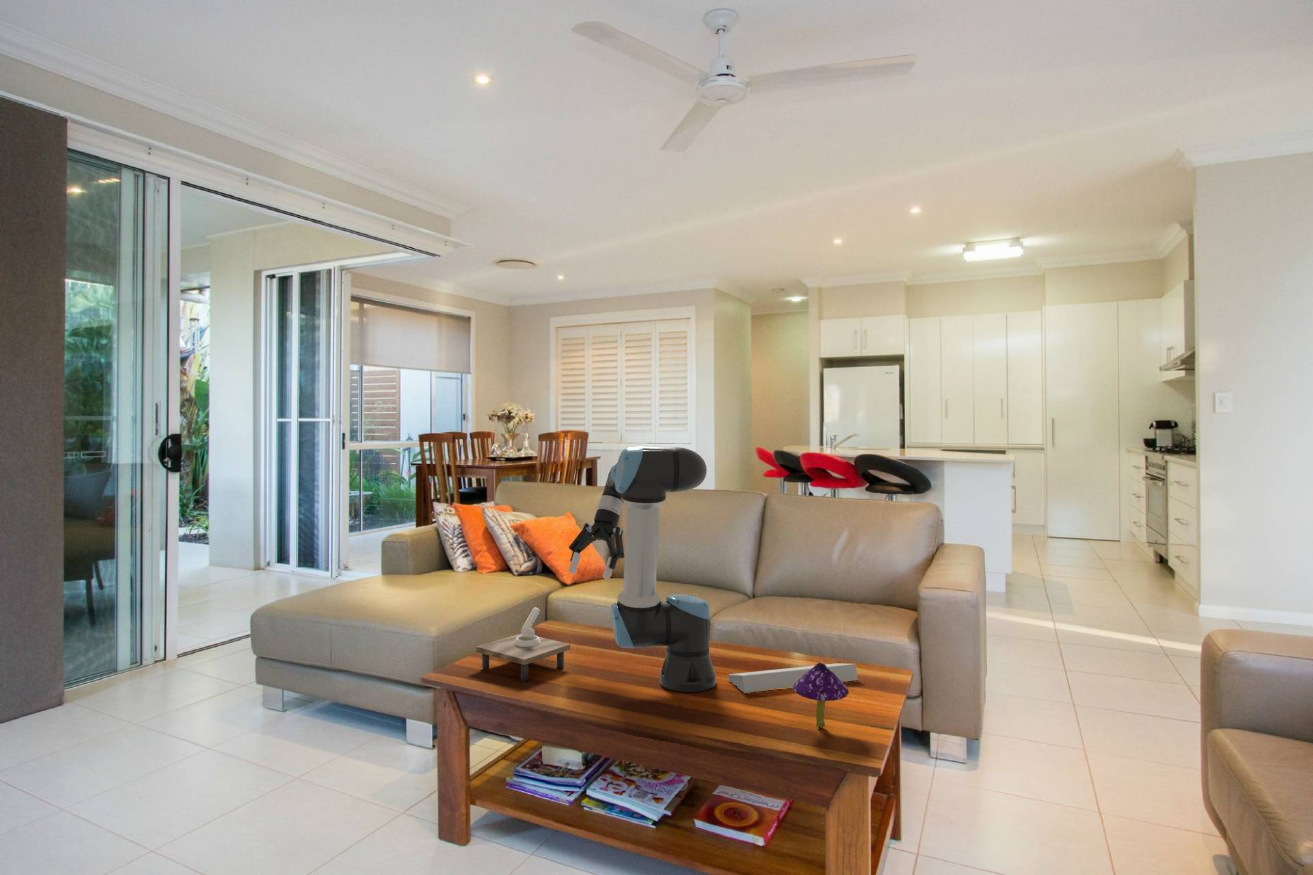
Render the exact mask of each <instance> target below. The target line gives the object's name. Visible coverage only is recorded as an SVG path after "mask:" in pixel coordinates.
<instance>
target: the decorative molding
mask: <svg viewBox="0 0 1313 875" xmlns="http://www.w3.org/2000/svg"><path fill="white" fill-rule="evenodd" d="M825 665H826V667H827V668H828V669H829V670H830V671H832V672H833V673H834V674H835V675H836V676H837V677H838V678H839V679H840V680H841V681H843V682H844V681H851V680H858V679H859V677H858V671H857V663H839V662H838V663H829V664H828V663H826V664H825ZM814 666H815V665H807V666H798V667H788V668H787V667H786V668H778V669H768V670H759V671H750V672H749V671H748V672H740V673H739V672H738V673H730V674H727V676H728V677H727V678H728V682H729V681H730V682H729V683H731V682H732V683H733V684H734V685H736V686H737V687H736V686H735V687H736V688H738V690H739V689H740V690H741V691H743V692H744V693H748V694H751V693H750V692H754V691H764V690H770V689H776V688H787V687H793V685H794V684H795V683H796V682H797V681H798V680H799V679H800V678H801V677H802V676H803V675H804V674H805V673H806V672H808V671H809V670H810V669H812V668H813V667H814ZM858 681H859V680H858ZM732 683H731V684H732ZM733 684H732V685H733ZM734 685H733V686H734ZM740 690H739V691H740ZM741 691H740V692H741ZM744 693H743V694H744Z"/></svg>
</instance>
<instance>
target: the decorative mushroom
mask: <svg viewBox="0 0 1313 875" xmlns="http://www.w3.org/2000/svg"><path fill="white" fill-rule="evenodd" d="M813 666H814V667H813V668H812V669H810V670H809V671H808V672H806V673H805V674H804V675H803V676H802V677H801V678H800V679H799V680H798V681H797V682H796V683H795V684H794V685H793V688H792V689H793V691H794V692H795V693H796V694H797V695H798V696H800V697H802V698H805V699H809V700H814V701H817V702H816V710H815V711H816V712H815V716H816V717H815V718H816V719H815V722H816V723H815V726H816V727H817V728H818V727H820V728H822V729H824V728H825V727H826V723H825V707H826V702H833V701H839V700H843V699H845V698H846V697H847V696H848V695H849V693H850V692H849V689H848V688H847V686H846V684H845V683H843V682H842V681H841V680H840V679H839V678H838V677H837V676H836V675H835V674H834V673H833V672H832V671H830V670H829V669H828V668H827V667H826V664H825V663H824V662H821V661H820V662H818V663H816V664H815V665H813ZM823 727H824V728H823ZM820 728H819V729H820Z"/></svg>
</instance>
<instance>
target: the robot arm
mask: <svg viewBox="0 0 1313 875" xmlns="http://www.w3.org/2000/svg"><path fill="white" fill-rule="evenodd" d="M707 472H708V470H707V464H706V461H705V459H703V457H702V455H700V454H698V453H697V452H695V451H694V450H691V449H689V448H685V447H678V446H677V447H676V446H675V447H674V446H671V447H670V446H669V447H668V446H667V447H666V446H665V447H663V446H641V445H640V446H634V447H633V446H632V447H626V448H624V449H622V450H621V452H620V454H619V456H618V459H617V462H616V463H615V464H614V465H613V466H611V468H610V470H609V472H608V474H607V478H606V481H605V485H604V488H603V491H602V494H601V497H600V500H599V502H598V506H597V508H598V509H596V512H595V515H594V518H593V520H594V522H593V524H588V522H586V523H584V525H583V528H582V530H581V531H580V532H579V533H578V535H577V536H576V537H575V538H574V540H572V542H571V543H570V544H569V545H568V549H569V550H571V551H572V553H571V557H570V560H569V562H570V565H569V567H568V571H567V573H570V574H572V575H575V574H576V571H577V569H578V566H579V562H580V559H581V556H582V554H581V553H582V551H584V550H585V549H586V548H587V547H588V546H590V545H591V544H593V542H595V541H604V542H606V545H607V548H608V550H609V553H610V555H609V556H608V559H607V562H606V564H605V569H604V572H603V574H602V578H603V579H605V580H607V581H610V578H611V575H612V572H613V570H615V569H616V565H617V562H618V561H619V559H624V569H623V590H622V591H621V592H620V593H619V594H618V595H617V602H614V603H612V604H611V605H610V616H611V624H612V630H613V631H612V632H613V635H614V640H615V643H616V644H617V646H618V647H619V648H622V649H633V650H634V649H636V648H637V649H639V648H641V649H642V648H654V647H655V648H656V647H666V653H665V654H666V655H665V657H664V661H663V664H662V667H661V670H660V673H659V683H660V685H661V686H662V688H665V689H666V690H669V691H670V690H671V691H674V692H678V693H680V692H681V693H697V692H698V693H699V692H703V691H704V692H705V691H708V690H711V689H713V688H714V687H715V686H716V685H717V683H716V679H717V678H716V676H717V675H716V672H715V670H714V666H713V663H712V659H711V656H710V620H711V616H710V606H709V602H707V601H706V600H705V599H702V598H700V597H697V596H693V595H688V594H679V593H676V594H668V595H667V596H666V598H665V601H662V597H661V596H660V594H658V592H656V591H657V590H656V589H657V588H656V587H657V570H658V568H657V567H658V546H659V544H658V542H659V524H660V506H661V505H662V504H663V503H664V502H665V501H667V500H666V498H667V497H666V496H667V493H679V492H680V493H681V492H685V491H689V490H693V489H695V488H697V487H699V486H700V485H701V484H703V482H704V480H705V479H706V476H707V474H708V473H707ZM624 504H626V508H625V509H626V514H625V516H626V517H625V540H624V541H625V543H624V542H623V533H624V530H623V529H622V528H621V527H619V526H617V525H618V523H619V519H620V516H619V515H621V512H622V509H623V506H624ZM613 534H614V539H613ZM614 540H615V544H614ZM710 688H711V689H710Z"/></svg>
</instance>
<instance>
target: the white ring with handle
mask: <svg viewBox="0 0 1313 875" xmlns="http://www.w3.org/2000/svg"><path fill="white" fill-rule="evenodd" d="M540 612H541V610H540V609H539V608H538V607H537V606H535V607H533V608H532V610H531V611H530V614H529V615H528V617H527V619H526V620H525V622H524V624H523V625H522V627H521V630H520V634H522V636H519V637H517V638H516V640H515V642H514V645H516V646H519V647H532V646H537V645H539V644H540V643H541V641H540V639H539V637H540V636H538V635H535V632H536V631H535V629H534V628H533V625H534V623H535V621H536V619H538V618H537V617H538V616H539V614H540ZM524 640H527V641H524Z"/></svg>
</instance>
